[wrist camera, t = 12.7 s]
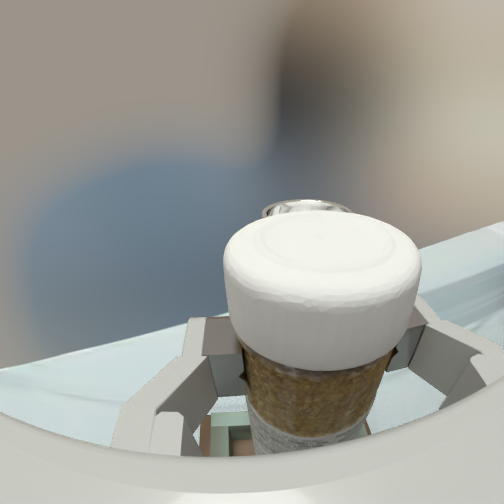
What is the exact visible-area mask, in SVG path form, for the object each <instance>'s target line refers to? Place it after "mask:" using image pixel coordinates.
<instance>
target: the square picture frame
mask: <svg viewBox="0 0 504 504" xmlns="http://www.w3.org/2000/svg"><path fill="white" fill-rule="evenodd" d="M368 435H371V432H370V429H369V427H368V424H367V421H366V420H365V422H364V424H363V426H362V428H361V430H360V431H359V433H358V435H357V437H356V439H357V438H361V437H365V436H368ZM199 448H200V450H201V452H202V454H203V456H204V457H232V456H252V455H256V454H255V450H254V445H253V439H252V433H251V427H250V420H249V414H248V411H244V412H223V413H211V415H206V417H205V418H204V419H203V421H202V422H201V426H200V444H199Z"/></svg>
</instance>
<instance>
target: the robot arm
mask: <svg viewBox="0 0 504 504" xmlns="http://www.w3.org/2000/svg"><path fill="white" fill-rule="evenodd" d="M406 367H408V368H409V369H410V370H411V371H413V372H414V373H415V374H417V375H418V376H420V377H421V378H422V379H424V380H425V381H427V382H428V383H429V384H431V385H432V386H433V387H435V388H436V389H438V390H439V391H440V392H442V393H443V394H445V395H446V396H447V397H446V398H445V399H444V401H443V402H442V404H441V405H440V407H439V410H438V411H436V412H433V413H431V414H429V415H426V416H424V417H421V418H419V419H416V420H414V421H411V422H408V423H405V424H403V425H400V426H397V427H394V428H391V429H388V430H385V431H382V432H378V433H375V434H372V435H368V436H365V437H361V438H357V439H353V440H349V441H345V442H341V443H336V444H332V445H327V446H322V447H316V448H311V449H305V450H298V451H291V452H284V453H275V454H265V455H252V456H232V457H204V456H203V454H202V452H201V450H200V448H199V446H198V444H197V442H196V440H195V439H194V437H193V433H194V432H195V430H196V429H197V428H198V426H199V425H200V424H201V422H202V421H203V419H204V418H205V417H206V415H207V414H208V412H209V411H210V409H211V408H212V407H213V405H214V404H215V402H216V401H217V399H218V397H228V396H241V395H247V390H246V374H245V367H244V359H243V350H242V345H241V343H240V342H239V340H238V338H237V335H236V332H235V329H234V327H233V325H232V323H231V320H230V316H224V317H207V318H206V317H202V318H201V317H200V318H190V319H189V321H188V324H187V330H186V335H185V340H184V346H183V351H182V357H176V358H175V359H174V360H172V361H171V362H170V363H169V364H168V365H167V366H166V367H165V368H164V369H163V370H161V371H160V372H159V373H158V374H157V375H156V376H155V377H154V378H153V379H152V380H150V381H149V382H148V383H147V384H146V385H145V386H144V387H143V388H142V389H140V390H139V391H138V392H137V393H136V394H135V395H134V396H133V397H131V398H130V399H129V400H128V401H127V402H126V403H125V404H124V405H122V406H121V409H120V413H119V416H118V420H117V423H116V427H115V431H114V435H113V439H112V443H111V447H108V446H103V445H98V444H94V443H89V442H85V441H81V440H77V439H74V438H70V437H66V436H63V435H60V434H56V433H53V432H50V431H47V430H44V429H41V428H38V427H36V426H33V425H30V424H28V423H25V422H23V421H20V420H18V419H15V418H13V417H11V416H8V415H6V414H4V413H2V412H0V504H504V351H503V350H502V348H501V347H500V346H499V345H498V344H497V343H495V342H493V341H491V340H488V339H486V338H484V337H482V336H480V335H477V334H475V333H473V332H471V331H469V330H466V329H464V328H462V327H460V326H458V325H455V324H453V323H451V322H449V321H446V320H442V321H441V319H440V318H439V317H438V316H437V315H436V314H435V312H434V311H433V310H432V309H431V308H430V307H429V306H428V304H427V303H426V302H425V301H424V300H423V299H422V298H421V297H420V295H418V294H417V295H416V300H415V303H414V307H413V310H412V314H411V317H410V320H409V324H408V327H407V330H406V332H405V333H404V335H403V337H402V338H401V340H400V341H399V342H398V344H397V345H396V346H395V347H394V348H393V350H392V353H391V356H390V359H389V362H388V363H387V366H386V369H385V371H386V372H390V371H394V370H398V369H402V368H406Z"/></svg>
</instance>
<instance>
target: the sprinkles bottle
mask: <svg viewBox="0 0 504 504" xmlns="http://www.w3.org/2000/svg"><path fill="white" fill-rule="evenodd" d="M223 260H224V262H223V263H224V275H225V284H226V293H227V301H228V308H229V316H230V320H231V323H232V325H233V327H234V329H235V332H236V335H237V338H238V340H239V342H240V343H241V345H242V350H243V359H244V367H245V374H246V390H247V395H245V396H246V403H247V409H248V414H249V420H250V427H251V433H252V439H253V445H254V450H255V454H256V455H265V454H275V453H284V452H291V451H298V450H305V449H311V448H316V447H322V446H327V445H332V444H336V443H341V442H345V441H349V440H353V439H356V437H357V435H358V433H359V431H360V430H361V428H362V426H363V424H364V422H365V420H366V418H367V416H368V414H369V411H370V409H371V407H372V405H373V403H374V400H375V397H376V392H377V389H378V387H379V385H380V382H381V379H382V376H383V374H384V371H385V369H386V366H387V363H388V362H389V359H390V356H391V353H392V350H393V348H394V347H395V346H396V345H397V344H398V342H399V341H400V340H401V338H402V337H403V335H404V333H405V332H406V330H407V327H408V324H409V320H410V317H411V314H412V310H413V307H414V303H415V300H416V295H417V291H418V286H419V281H420V276H421V270H422V262H421V256H420V253H419V251H418V249H417V247H416V245H415V244H414V243H413V242H412V240H411V239H410V238H409V237H407V236H406V235H405V234H404V233H403V232H401V231H400V230H398V229H397V228H395V227H393V226H391V225H389V224H387V223H385V222H382V221H379V220H377V219H374V218H371V217H367V216H363V215H359V214H354V213H348V212H339V211H325V210H314V211H297V212H289V213H283V214H278V215H273V216H269V217H266V218H263V219H260V220H257V221H255V222H253V223H251V224H248V225H247V226H245V227H244V228H242V229H241V230H239V231H238V232H237V233H235V235H233V237H232V238H231V239H230V241H229V243H228V244H227V246H226V248H225V252H224V259H223Z"/></svg>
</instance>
